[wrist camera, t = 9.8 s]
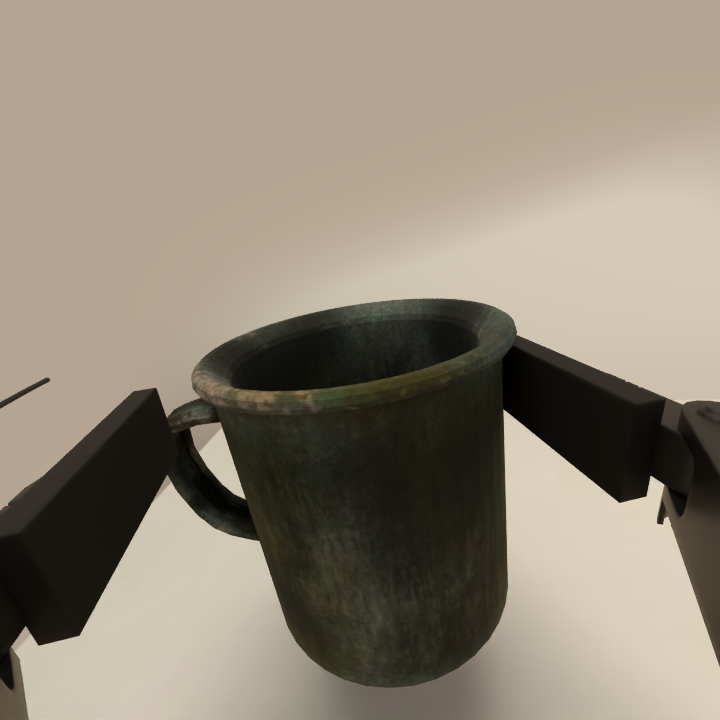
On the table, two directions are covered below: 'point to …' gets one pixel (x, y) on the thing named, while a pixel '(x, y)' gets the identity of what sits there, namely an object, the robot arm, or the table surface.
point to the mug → (366, 478)
